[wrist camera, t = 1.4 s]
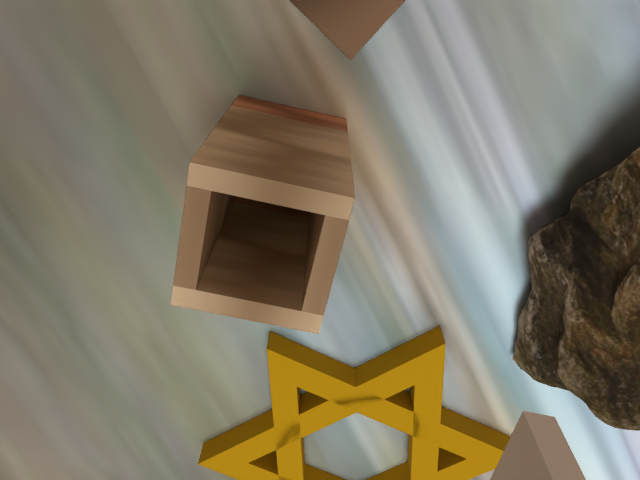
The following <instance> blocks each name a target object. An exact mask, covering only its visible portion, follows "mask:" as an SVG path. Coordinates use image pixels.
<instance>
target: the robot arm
mask: <svg viewBox="0 0 640 480" xmlns="http://www.w3.org/2000/svg"><path fill="white" fill-rule="evenodd" d="M490 480H586V479H585V477H584V475H583V473H582V471H581V469H580V467H579V465H578V463H577V461H576V459H575V457H574V455H573V453H572V451H571V449H570V447H569V445H568V443H567V441H566V439H565V437H564V435H563V433H562V431H561V429H560V427H559V425H558V423H557V421H556V419H555V417H551V416H546V415H541V414H536V413H531V412H526V411H523V412H522V414H521V416H520V418H519V421H518V423H517V425H516V427H515V429H514V431H513V433H512V435H511V437H510V439H509V441H508V444H507V446H506V448H505V450H504V452H503V454H502V456H501V458H500V460H499V462H498V464H497V467H496V469H495V471H494V473H493V475H492V477H491V479H490Z"/></svg>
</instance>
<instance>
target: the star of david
mask: <svg viewBox="0 0 640 480" xmlns="http://www.w3.org/2000/svg"><path fill="white" fill-rule="evenodd" d="M267 356H268V367H269V378H270V389H271V400H272V410H270V411H267V412H265V413H263V414H261V415H259V416H257V417H255V418H253V419H251V420H249V421H247V422H245V423H243V424H241V425H239V426H237V427H235V428H233V429H231V430H229V431H227V432H225V433H223V434H221V435H219V436H217V437H215V438H213V439H211V440H209V441H207V442H205V443H204V444H203V447H202V451H201V455H200V459H199V462H198V464H199V465H202V466H204V467H207V468H209V469H212V470H215V471H217V472H220V473H222V474H225V475H228V476H230V477H233V478H235V479H238V480H345V479H342V478H340V477H337V476H335V475H332V474H330V473H327V472H325V471H322V470H320V469H317V468H315V467H312V466H310V465H307V464H305V458H304V443H303V437H305V436H307V435H309V434H311V433H313V432H315V431H318V430H320V429H322V428H324V427H326V426H328V425H330V424H333V423H335V422H337V421H339V420H341V419H343V418H345V417H347V416H350V415H352V414H354V413H356V412H358V413H360V414H362V415H365V416H367V417H369V418H372V419H374V420H376V421H379V422H381V423H384V424H386V425H388V426H391V427H393V428H395V429H398V430H400V431H402V432H405V433H407V434H408V460H407V462H405V463H403V464H401V465H399V466H396V467H394V468H392V469H389V470H387V471H385V472H383V473H380V474H378V475H376V476H373V477H371V478H369V479H367V480H469V479H471V478H474V477H476V476H478V475H481V474H483V473H486V472H488V471H490V470H493V469H495V468H496V467H497V464H498V462H499V460H500V458H501V456H502V454H503V452H504V450H505V448H506V446H507V444H508V441H509V439H510V437H511V436H508V435H506V434H504V433H501V432H499V431H497V430H495V429H492V428H490V427H488V426H485V425H483V424H481V423H479V422H476V421H474V420H472V419H469V418H467V417H465V416H463V415H460V414H458V413H456V412H454V411H451V410H449V409H447V408H444V407H442V390H443V374H444V358H445V341H444V337H443V334H442V331H441V328H440V326H438V327H436V328H434V329H432V330H430V331H428V332H426V333H424V334H422V335H420V336H418V337H416V338H414V339H412V340H410V341H408V342H406V343H404V344H402V345H400V346H398V347H396V348H394V349H392V350H390V351H388V352H386V353H384V354H382V355H380V356H378V357H376V358H374V359H372V360H370V361H368V362H366V363H364V364H362V365H360V366H358V367H356V368H353V367H351V366H349V365H346V364H344V363H342V362H340V361H337V360H335V359H333V358H330V357H328V356H326V355H324V354H321V353H319V352H317V351H315V350H312V349H310V348H308V347H305V346H303V345H301V344H299V343H296V342H294V341H292V340H289V339H287V338H285V337H283V336H280V335H278V334H276V333H273V332H271V331H270V333H269V339H268V345H267ZM409 387H410V392H408V391H406V390H405V389H407V388H409ZM300 388H301V389H303V390H306V391H308V392H306V393H304V394H302V395H300ZM439 447H440V448H439ZM275 450H276V452H274V451H275Z"/></svg>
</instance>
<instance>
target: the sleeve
mask: <svg viewBox="0 0 640 480" xmlns="http://www.w3.org/2000/svg"><path fill="white" fill-rule="evenodd" d="M354 200H355V195H354V186H353V176H352V167H351V158H350V149H349V140H348V131H347V122H346V119H342V118H338V117H334V116H329V115H325V114H321V113H316V112H312V111H307V110H303V109H299V108H294V107H290V106H286V105H281V104H277V103H273V102H268V101H264V100H259V99H255V98H251V97H246V96H242V95H238V97H237V98H236V100H235V101H234V102H233V104H232V105H231V106H230V108H229V109H228V111H227V112H226V113H225V115H224V116H223V117H222V119H221V120H220V122H219V123H218V124H217V126H216V127H215V128H214V130H213V131H212V133H211V134H210V135H209V137H208V138H207V139H206V141H205V142H204V144H203V145H202V146H201V148H200V149H199V150H198V152H197V153H196V154H195V156H194V157H193V159H192V160H191V161H190V165H189V172H188V179H187V187H186V194H185V202H184V209H183V216H182V224H181V231H180V239H179V246H178V253H177V261H176V268H175V276H174V283H173V290H172V298H171V305H175V306H180V307H185V308H190V309H195V310H200V311H205V312H210V313H215V314H220V315H226V316H231V317H236V318H241V319H246V320H251V321H256V322H261V323H266V324H271V325H276V326H281V327H286V328H291V329H296V330H301V331H306V332H312V333H317V334H319V330H320V326H321V323H322V319H323V315H324V312H325V308H326V304H327V300H328V297H329V293H330V289H331V285H332V282H333V278H334V274H335V271H336V267H337V263H338V259H339V256H340V252H341V248H342V244H343V241H344V237H345V233H346V230H347V226H348V222H349V218H350V215H351V211H352V207H353V203H354Z"/></svg>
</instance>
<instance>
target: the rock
mask: <svg viewBox="0 0 640 480" xmlns="http://www.w3.org/2000/svg"><path fill="white" fill-rule="evenodd" d="M528 259H529V263H530V280H531V282H532V290H531V292H530V295H529V297H528V299H527V302H526V304H525V306H524V307H523V309H522V311H521V313H520V317H519V320H518V338H517V341H516V343H515V353H514V356H513V361H515V362H516V363H517V365H518V366H519V367H520V369H522V370H523V371H525V372H526V373H527V374H529V375H530V376H531V377H532V378H533V379H534V380H536V381H538V382H540V383H543V384H546V385H549V386H551V387H558V388H561V389H565V390H569V391H571V392H572V393H573V394H574V395H576V396H577V397H579V398H580V399H581V400H583V401H584V402H585V403H586V404H587V406H588V407H589V409H590V410H591V411H592V413H593V414H594V415H595V416H596V417H597V418H598V419H600V420H601V421H603V422H604V423H606V424H608V425H610V426H612V427H615V428H620V429H627V430H640V147H639V148H638V149H636V150H635V151H634V152H632V153H631V154H630V155H629V156H628V157H627V158H626V159H625V160H624V161H622V162H621V163H620V164H618V165H617V166H616V167H614V168H612V169H610V170H608V171H606V172H604V173H602V174H601V175H600V176H599V177H597V178H595V179H593V180H591V181H590V182H588V183H586V184H584V185H583V186H581V187H580V188H579V189H578V190H577V192H576V194H575V195H574V197H573V199H572V201H571V209H570V212H569V213H567V214H565V215H562V216H560V217H558V218H557V219H555V220H554V221H552V222H550V223H548V224H547V225H545V226H544V227H542V228H540V229H539V230H538V231H537V232H536V233H535V234H533V235H531V237H530V239H529V241H528Z"/></svg>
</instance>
